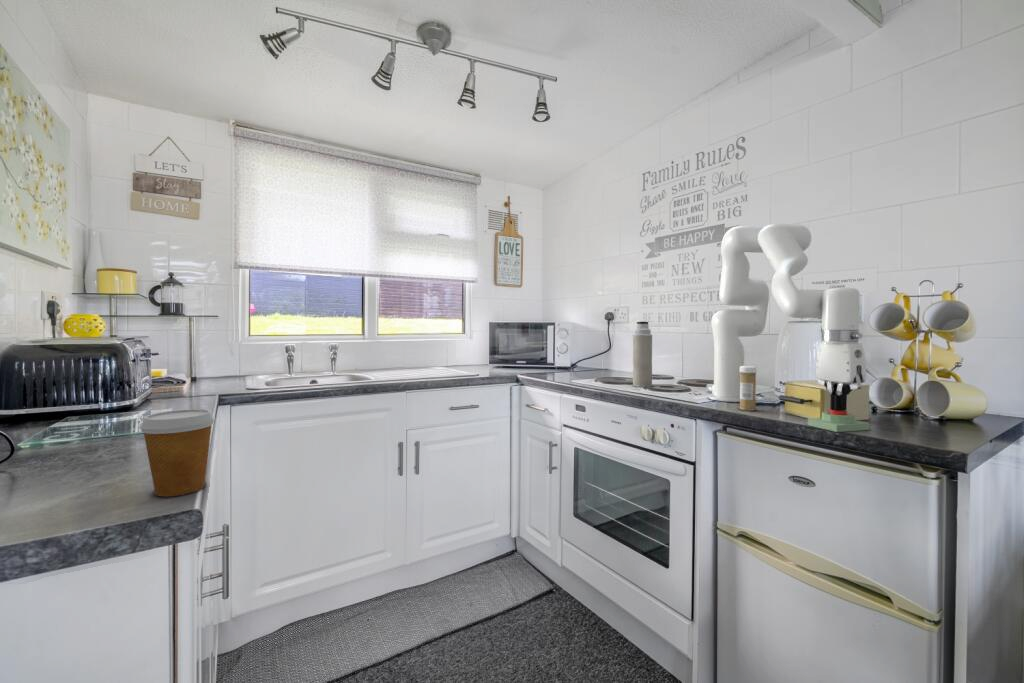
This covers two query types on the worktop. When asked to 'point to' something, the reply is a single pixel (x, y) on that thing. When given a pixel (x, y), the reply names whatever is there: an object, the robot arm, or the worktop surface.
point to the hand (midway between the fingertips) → (838, 409)
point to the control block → (838, 422)
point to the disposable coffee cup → (178, 449)
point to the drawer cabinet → (855, 399)
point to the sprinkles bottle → (748, 388)
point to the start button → (837, 412)
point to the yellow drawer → (804, 400)
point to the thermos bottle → (642, 356)
